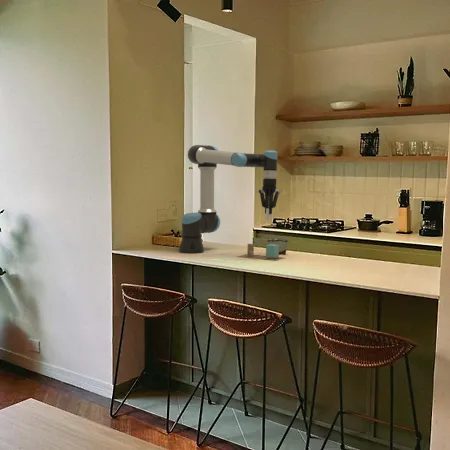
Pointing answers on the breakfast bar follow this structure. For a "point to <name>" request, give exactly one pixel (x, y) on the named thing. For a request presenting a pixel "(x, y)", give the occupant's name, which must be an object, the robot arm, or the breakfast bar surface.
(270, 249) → the teal rectangular block
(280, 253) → the food container
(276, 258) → the board
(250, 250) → the post
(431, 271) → the breakfast bar surface
